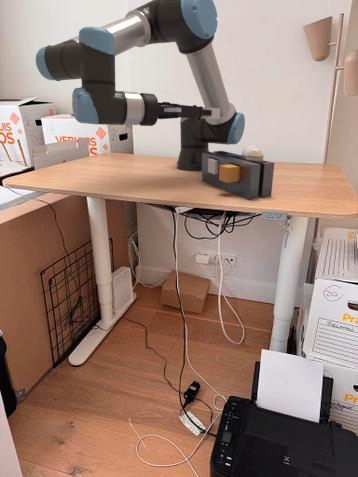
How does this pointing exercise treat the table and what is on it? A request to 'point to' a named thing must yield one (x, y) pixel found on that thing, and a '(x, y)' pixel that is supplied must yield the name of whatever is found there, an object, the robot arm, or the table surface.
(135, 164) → the table surface
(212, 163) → the white button
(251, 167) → the dark grey button box
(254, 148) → the light bulb
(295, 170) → the table surface
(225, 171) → the orange button
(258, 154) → the candle
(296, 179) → the table surface
